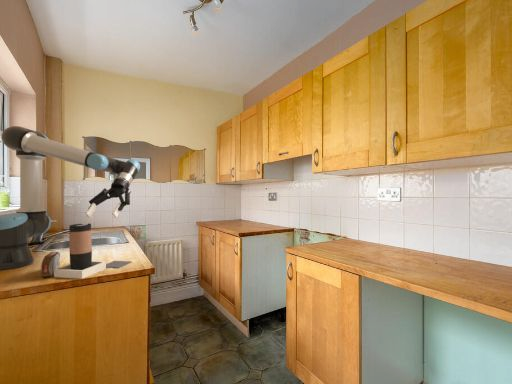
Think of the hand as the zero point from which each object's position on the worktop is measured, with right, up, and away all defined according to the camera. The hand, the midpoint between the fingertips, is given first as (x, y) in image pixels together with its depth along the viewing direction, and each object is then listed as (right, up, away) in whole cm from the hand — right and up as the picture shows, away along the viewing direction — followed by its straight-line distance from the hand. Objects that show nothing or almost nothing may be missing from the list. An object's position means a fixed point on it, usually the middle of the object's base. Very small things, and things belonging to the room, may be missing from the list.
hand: (100, 215), depth 117 cm
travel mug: (-2, -23, -10) cm, 25 cm away
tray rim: (-2, -23, -10) cm, 25 cm away
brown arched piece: (-14, -23, -11) cm, 29 cm away
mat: (+7, -22, 0) cm, 24 cm away
